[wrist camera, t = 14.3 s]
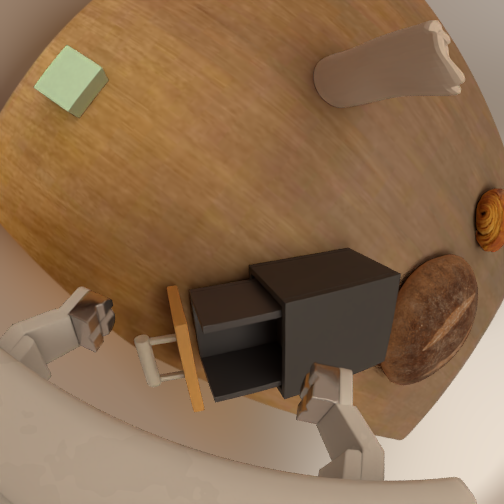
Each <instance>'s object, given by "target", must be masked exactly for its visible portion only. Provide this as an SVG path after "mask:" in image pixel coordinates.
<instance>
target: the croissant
mask: <svg viewBox="0 0 504 504" xmlns="http://www.w3.org/2000/svg"><path fill="white" fill-rule="evenodd" d="M476 213H477V214H476V227H477V231H476V240H477V242H478V243H479V245H480V246H481V247H482V248H483V250H484V251H491V252H495V251H497V250H499V249H500V248H501V247H502V246H503V244H504V190H503V189H495V188H494V189H492V190H489V191H488V192H486V193H485V194H483V196H482V197H481V199H480V201H479V203H478V205H477V209H476Z"/></svg>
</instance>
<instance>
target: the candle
mask: <svg viewBox="0 0 504 504" xmlns="http://www.w3.org/2000/svg"><path fill="white" fill-rule="evenodd" d="M449 43H450V37H449V36H448V35H447V34H446V33H445V32H444V31H443V30H442V25H441V24H440V23H439V22H438V21H436V20H430V21H427V22H424V23H421V24H418V25H415V26H412V27H408V28H405V29H401V30H398V31H394V32H391V33H388V34H385V35H383V36H380V37H378V38H375V39H373V40H370V41H368V42H365V43H363V44H361V45H359V46H356V47H354V48H351V49H349V50H346V51H343V52H340V53H336V54H333V55H330V56H328V57H325V58H323V59H322V60H320V61H319V62H318V63H317V65H316V67H315V69H314V84H315V87H316V89H317V91H318V93H319V95H320V96H321V97H322V98H323V99H324V100H325V101H326V102H327V103H328V104H330V105H332V106H334V107H338V108H345V107H351V106H357V105H363V104H367V103H372V102H376V101H380V100H384V99H389V98H395V97H402V96H451V95H457V94H460V92H461V88H460V86H459V85H460V84H462V83H463V82H464V81H465V76H464V74H463V73H462V71H461V70H460V69H459V68H458V67H457V66H456V65H455V64H454V63H453V61H452V60H451V59H450V58H449V50H448V46H447V45H448V44H449Z"/></svg>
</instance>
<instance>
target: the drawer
mask: <svg viewBox="0 0 504 504" xmlns="http://www.w3.org/2000/svg"><path fill="white" fill-rule="evenodd" d="M189 292H190V299H191V306H192V312H193V318H194V325H195V331H196V337H197V342H198V348H199V354H200V359H201V362H202V365H203V368H204V371H205V374H206V377H207V380H208V383H209V386H210V389H211V392H212V394H213V397H214V400H215V402H219V401H224V400H227V399H232V398H236V397H240V396H244V395H248V394H252V393H256V392H259V391H263V390H267V389H270V388H274V387H277V386H281V385H282V306H281V305H280V304H279V303H278V302H277V301H276V300H275V299H274V298H273V296H272V295H271V294H270V293H269V292H268V291H267V290H266V289H265V288H264V287H263V286H262V284H261V283H260V282H259V281H258V280H257V279H256V278H254V279H248V280H243V281H237V282H232V283H226V284H220V285H215V286H209V287H203V288H197V289H191V290H189ZM167 293H168V299H169V304H170V310H171V315H172V320H173V325H174V330H175V334H170V335H164V336H158V337H152V338H150V339H149V337H148V336H147V335H139V336H137V337H136V338H135V339H134V342H135V346H136V349H137V352H138V356H139V359H140V362H141V365H142V368H143V371H144V374H145V378H146V381H147V384H148V385H149V386H150V387H157V386H159V385H160V384H161V382H162V381H168V380H174V379H180V378H185V379H186V383H187V387H188V391H189V395H190V398H191V403H192V406H193V410H194V412H198V411H202V410H204V405H203V400H202V396H201V392H200V387H199V382H198V377H197V372H196V368H195V363H194V358H193V352H192V347H191V342H190V337H189V331H188V325H187V321H186V318H185V314H184V311H183V307H182V303H181V300H180V296H179V292H178V288H177V285H175V286H169V287H167ZM174 341H177V344H178V349H179V354H180V358H181V362H182V367H183V371H179V372H173V373H167V374H161V375H159V371H158V368H157V365H156V361H155V357H154V354H153V350H152V346H151V345H156V344H162V343H168V342H174Z"/></svg>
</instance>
